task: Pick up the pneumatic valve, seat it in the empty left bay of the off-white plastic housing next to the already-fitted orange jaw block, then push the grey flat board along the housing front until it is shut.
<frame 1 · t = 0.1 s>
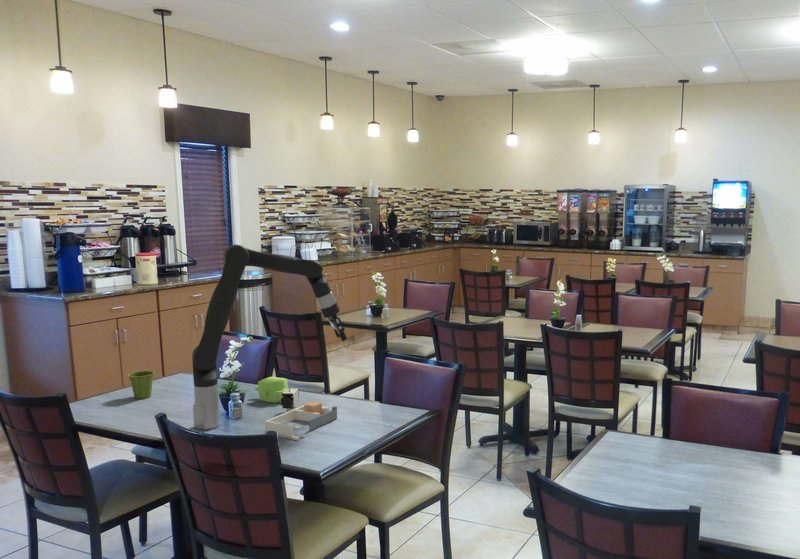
hand: (342, 338, 291), 31 cm above the table, tool tilted 20°, fingers open, 8 cm apart
housing: (300, 426, 274), on the table
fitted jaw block: (313, 418, 281), point 1 cm above the table, touching housing
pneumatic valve: (290, 416, 288), on the table
grey flat board: (323, 418, 272), point 4 cm above the table, slide at 8.0 cm
lime green lidded box: (271, 400, 313), on the table
plant pot: (142, 397, 321), on the table
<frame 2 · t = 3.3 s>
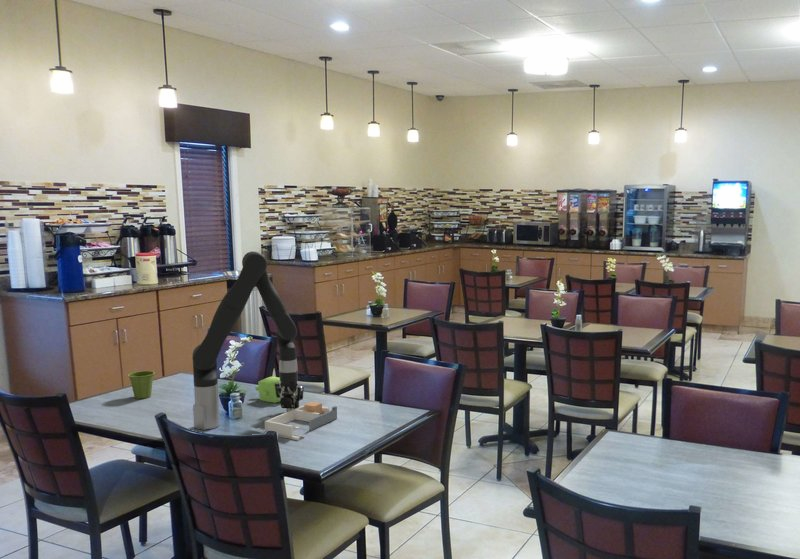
hand: (289, 408, 288), 3 cm above the table, tool pointing down, fingers closed on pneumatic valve, 6 cm apart
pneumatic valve: (290, 416, 288), on the table, touching gripper
everything else where it was.
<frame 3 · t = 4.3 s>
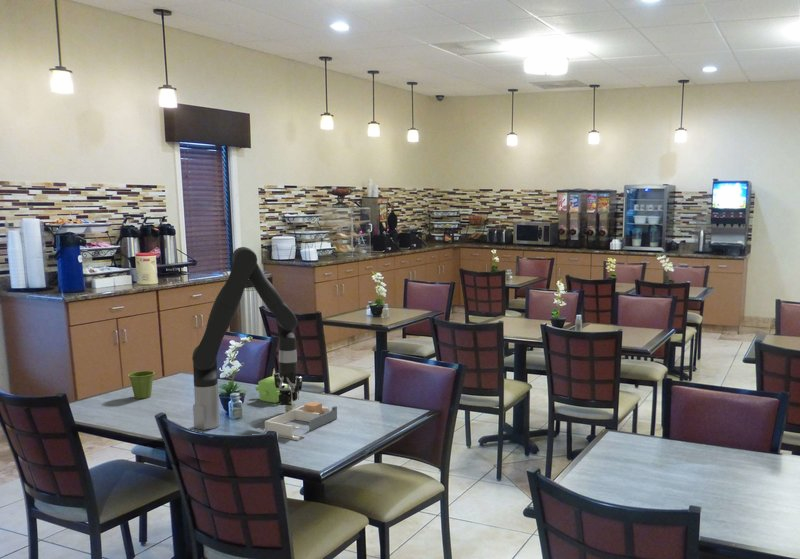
hand: (288, 399, 287), 7 cm above the table, tool pointing down, fingers closed on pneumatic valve, 5 cm apart
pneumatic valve: (289, 413, 288), point 1 cm above the table, touching gripper
everything else where it was.
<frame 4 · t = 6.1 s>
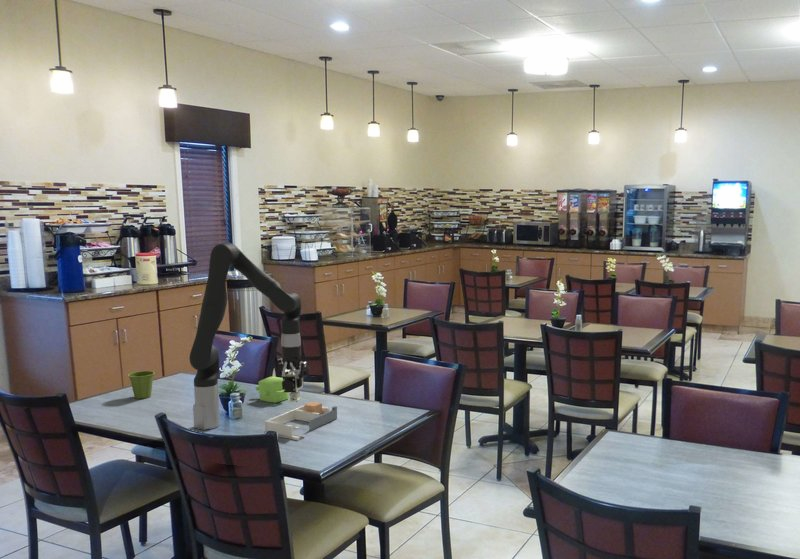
hand: (292, 386, 268), 17 cm above the table, tool pointing down, fingers closed on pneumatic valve, 5 cm apart
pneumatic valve: (294, 401, 269), point 11 cm above the table, touching gripper
everything else where it was.
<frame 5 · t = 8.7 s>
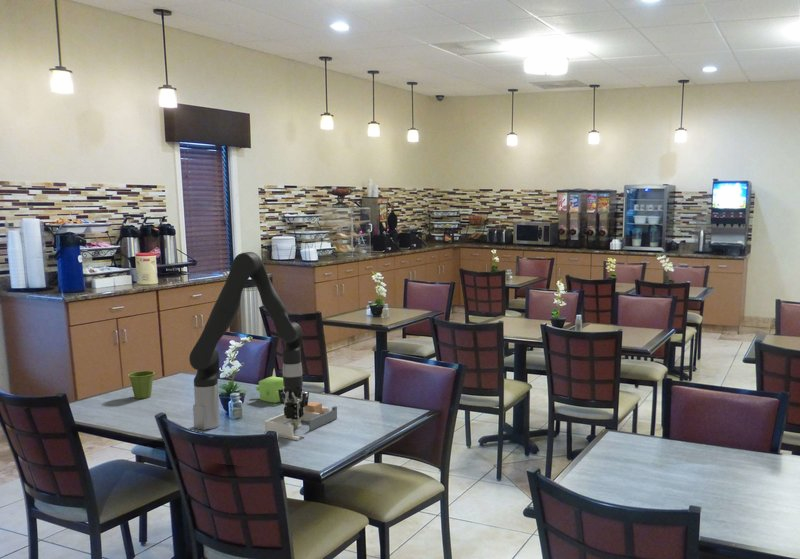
hand: (294, 415, 269), 6 cm above the table, tool pointing down, fingers closed on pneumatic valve, 5 cm apart
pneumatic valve: (295, 427, 270), point 1 cm above the table, touching gripper, housing
everything else where it was.
when the fingers open (6 cm above the table, at t = 8.9 s): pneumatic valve stays where it is, resting on housing.
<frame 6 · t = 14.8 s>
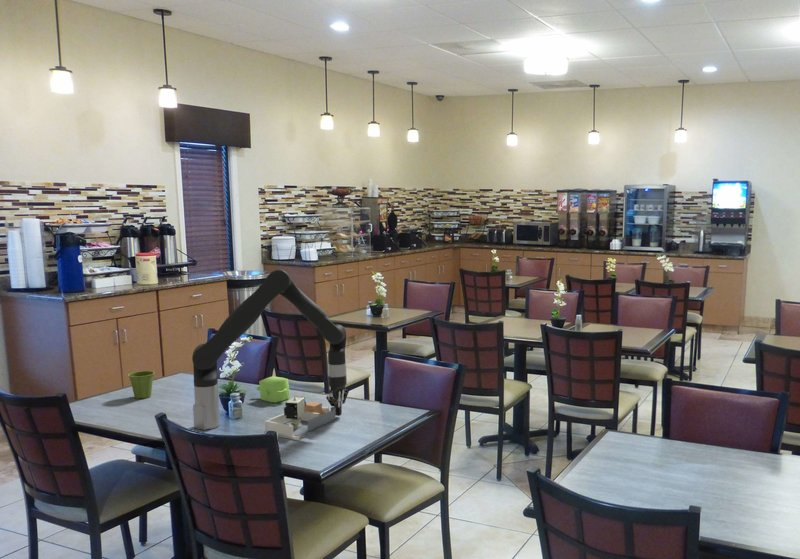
hand: (338, 415, 281), 2 cm above the table, tool pointing down, fingers closed
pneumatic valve: (295, 427, 270), point 1 cm above the table, touching housing
grey flat board: (321, 418, 271), point 4 cm above the table, slide at 7.0 cm, touching gripper
everything else where it was.
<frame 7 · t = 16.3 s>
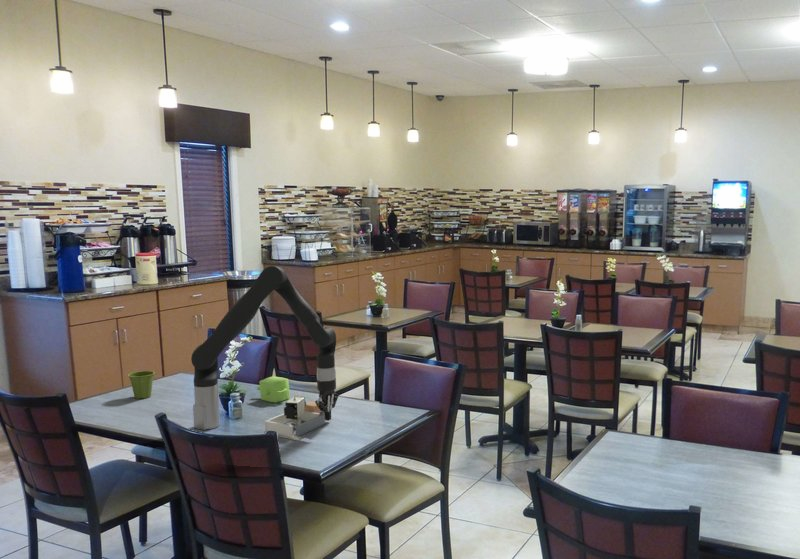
hand: (327, 419, 275), 2 cm above the table, tool pointing down, fingers closed
grey flat board: (310, 423, 265), point 4 cm above the table, slide at -0.1 cm, touching gripper
everything else where it was.
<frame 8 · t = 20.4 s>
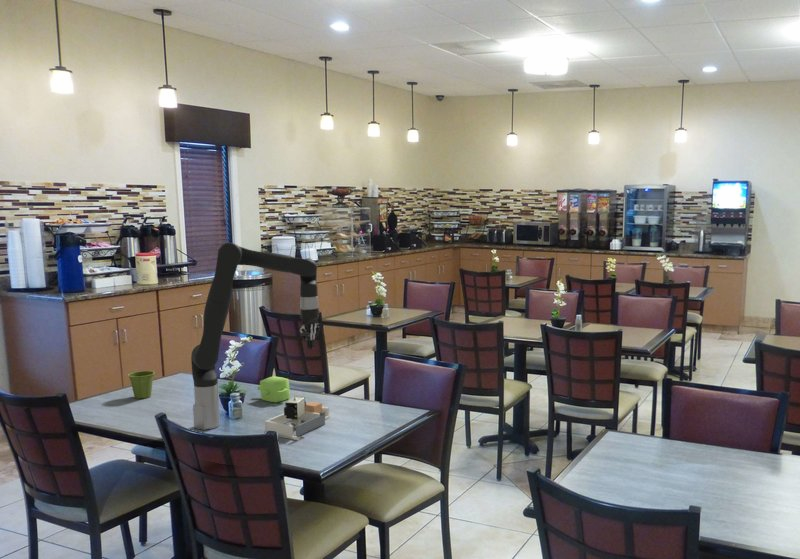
hand: (310, 348, 283), 29 cm above the table, tool pointing down, fingers closed
grey flat board: (310, 423, 265), point 4 cm above the table, slide at 0.0 cm
everything else where it was.
at the end: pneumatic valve inside the target area on the housing (0.5 cm from its centre), point 1.0 cm above the housing's base; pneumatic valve tilted 0°; grey flat board slide at 0.0 cm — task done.
